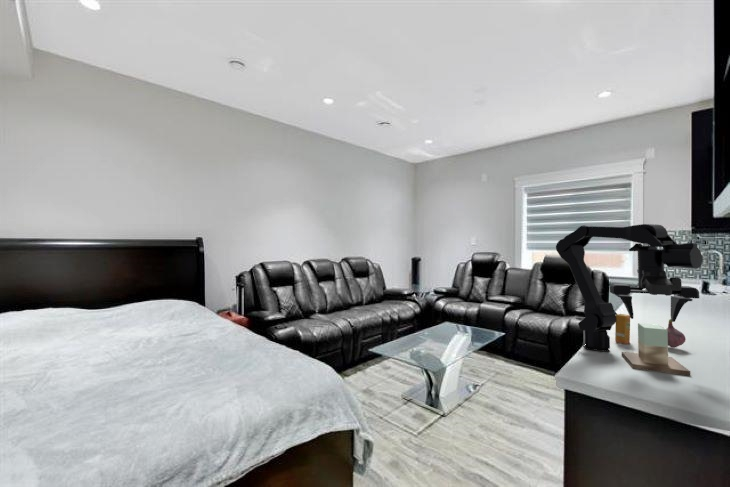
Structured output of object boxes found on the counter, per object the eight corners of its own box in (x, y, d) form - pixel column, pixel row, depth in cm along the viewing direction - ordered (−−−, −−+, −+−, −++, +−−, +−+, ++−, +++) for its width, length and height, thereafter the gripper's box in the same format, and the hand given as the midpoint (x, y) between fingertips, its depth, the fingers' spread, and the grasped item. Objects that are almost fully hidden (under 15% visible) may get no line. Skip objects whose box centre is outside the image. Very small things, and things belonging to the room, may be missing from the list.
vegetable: (655, 345, 110) (654, 316, 110) (675, 345, 109) (674, 317, 109) (669, 350, 104) (668, 320, 104) (690, 351, 103) (689, 321, 103)
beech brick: (645, 362, 90) (644, 345, 90) (638, 356, 96) (638, 339, 96) (668, 365, 88) (667, 347, 88) (660, 358, 93) (659, 341, 94)
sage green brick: (644, 345, 90) (644, 327, 91) (638, 339, 96) (637, 323, 96) (667, 347, 88) (667, 329, 88) (659, 341, 93) (659, 324, 94)
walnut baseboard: (632, 368, 89) (632, 364, 89) (621, 355, 100) (621, 351, 100) (690, 375, 84) (690, 371, 84) (671, 361, 94) (671, 357, 94)
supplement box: (626, 344, 111) (625, 316, 111) (615, 341, 114) (614, 314, 114) (631, 343, 112) (630, 315, 113) (619, 340, 116) (619, 313, 116)
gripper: (617, 267, 89) (619, 322, 89) (709, 269, 81) (710, 330, 81) (608, 265, 99) (609, 315, 99) (689, 266, 91) (690, 321, 91)
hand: (652, 320), depth 92 cm, fingers open, 9 cm apart
